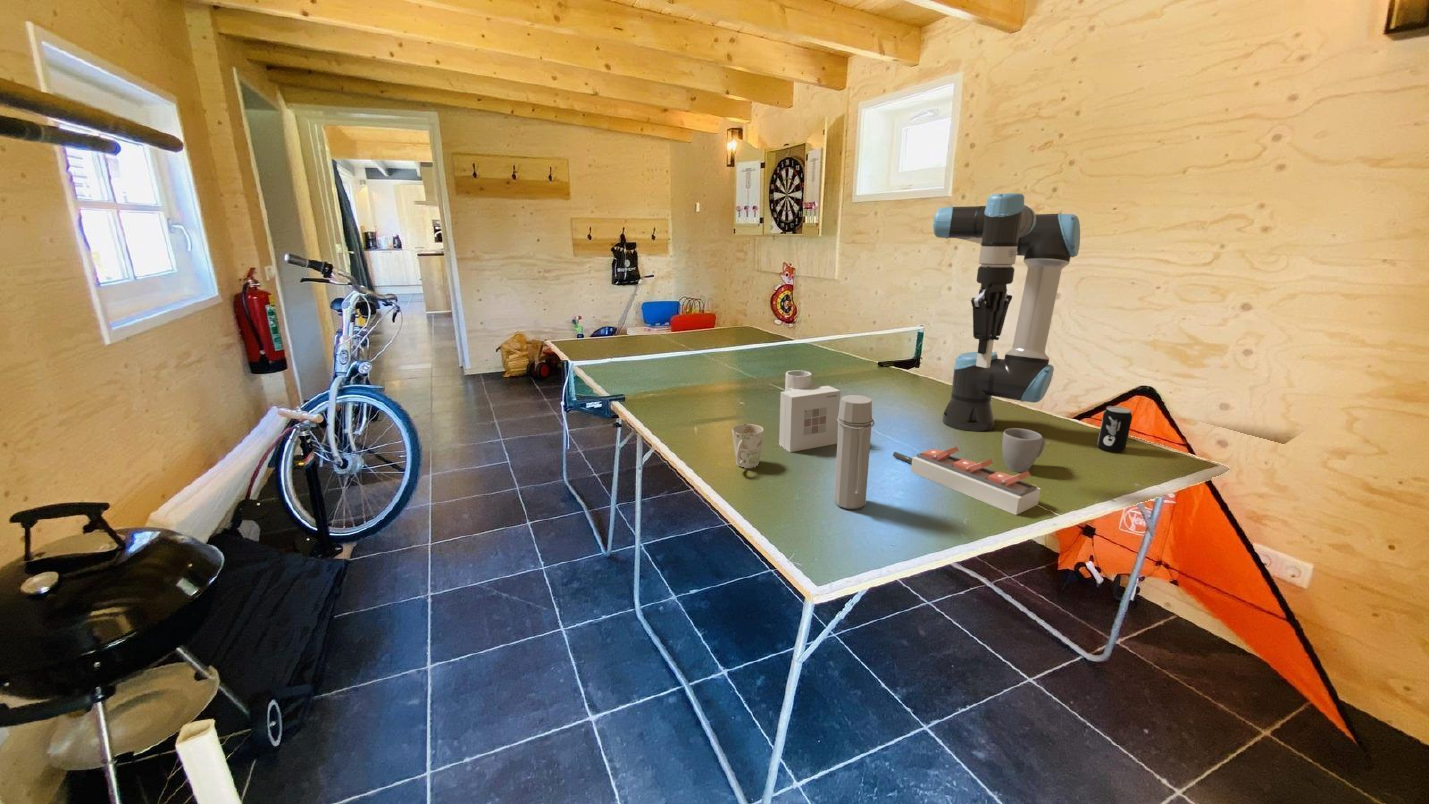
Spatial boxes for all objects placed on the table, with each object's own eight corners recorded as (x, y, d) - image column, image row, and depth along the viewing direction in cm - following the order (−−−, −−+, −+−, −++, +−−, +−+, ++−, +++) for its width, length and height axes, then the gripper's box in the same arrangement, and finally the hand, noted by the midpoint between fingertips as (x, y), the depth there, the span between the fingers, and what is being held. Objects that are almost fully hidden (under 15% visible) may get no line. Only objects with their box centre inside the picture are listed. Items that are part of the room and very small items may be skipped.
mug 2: (1017, 477, 141) (1023, 441, 139) (990, 464, 149) (995, 430, 147) (1054, 470, 145) (1060, 435, 142) (1026, 458, 153) (1031, 425, 150)
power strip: (883, 460, 152) (884, 444, 151) (905, 453, 157) (906, 437, 155) (1015, 515, 123) (1019, 495, 121) (1037, 504, 127) (1041, 485, 126)
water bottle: (828, 497, 132) (833, 394, 124) (860, 495, 132) (868, 393, 125) (839, 516, 123) (846, 407, 116) (874, 514, 123) (883, 406, 116)
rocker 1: (923, 461, 144) (921, 452, 144) (934, 457, 146) (932, 448, 146) (949, 459, 137) (946, 450, 137) (960, 455, 140) (958, 446, 140)
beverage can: (1129, 454, 155) (1138, 413, 152) (1102, 452, 156) (1111, 412, 153) (1117, 446, 161) (1126, 406, 158) (1092, 444, 163) (1100, 405, 159)
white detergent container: (790, 452, 158) (792, 384, 152) (758, 432, 175) (759, 369, 169) (837, 443, 165) (841, 377, 159) (803, 425, 181) (805, 364, 175)
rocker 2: (988, 485, 129) (986, 476, 130) (999, 481, 132) (997, 471, 132) (1020, 486, 123) (1018, 475, 123) (1032, 481, 125) (1029, 470, 125)
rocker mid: (953, 471, 137) (951, 462, 137) (964, 467, 139) (963, 458, 139) (983, 473, 130) (981, 463, 130) (994, 468, 132) (992, 459, 132)
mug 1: (766, 460, 153) (767, 425, 150) (754, 478, 142) (754, 441, 139) (737, 456, 156) (737, 422, 153) (722, 474, 144) (722, 438, 141)
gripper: (995, 267, 121) (981, 373, 128) (1028, 265, 128) (1013, 365, 135) (964, 266, 127) (952, 367, 134) (997, 263, 134) (984, 360, 141)
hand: (982, 366), depth 135 cm, fingers closed
